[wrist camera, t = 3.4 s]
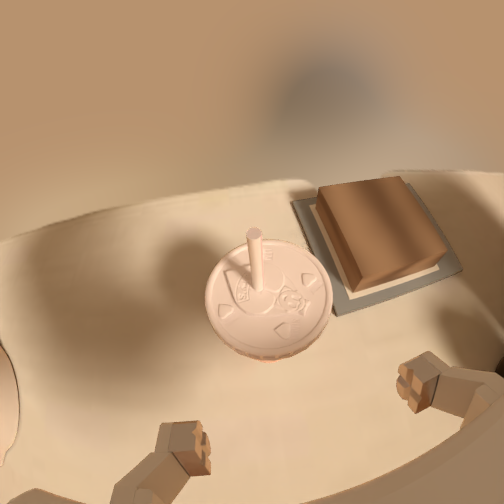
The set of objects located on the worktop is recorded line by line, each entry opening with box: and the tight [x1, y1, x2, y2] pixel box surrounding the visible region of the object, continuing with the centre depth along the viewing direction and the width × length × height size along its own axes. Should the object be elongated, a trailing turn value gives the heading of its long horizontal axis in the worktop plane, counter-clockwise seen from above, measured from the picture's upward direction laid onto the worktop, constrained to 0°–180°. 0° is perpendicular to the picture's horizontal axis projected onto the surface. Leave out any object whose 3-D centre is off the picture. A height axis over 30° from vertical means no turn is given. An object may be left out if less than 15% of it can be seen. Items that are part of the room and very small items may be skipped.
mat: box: [293, 183, 463, 317], centre depth 26 cm, size 16×13×1 cm
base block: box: [315, 176, 448, 293], centre depth 24 cm, size 10×10×3 cm
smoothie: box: [205, 227, 333, 363], centre depth 15 cm, size 6×6×14 cm
